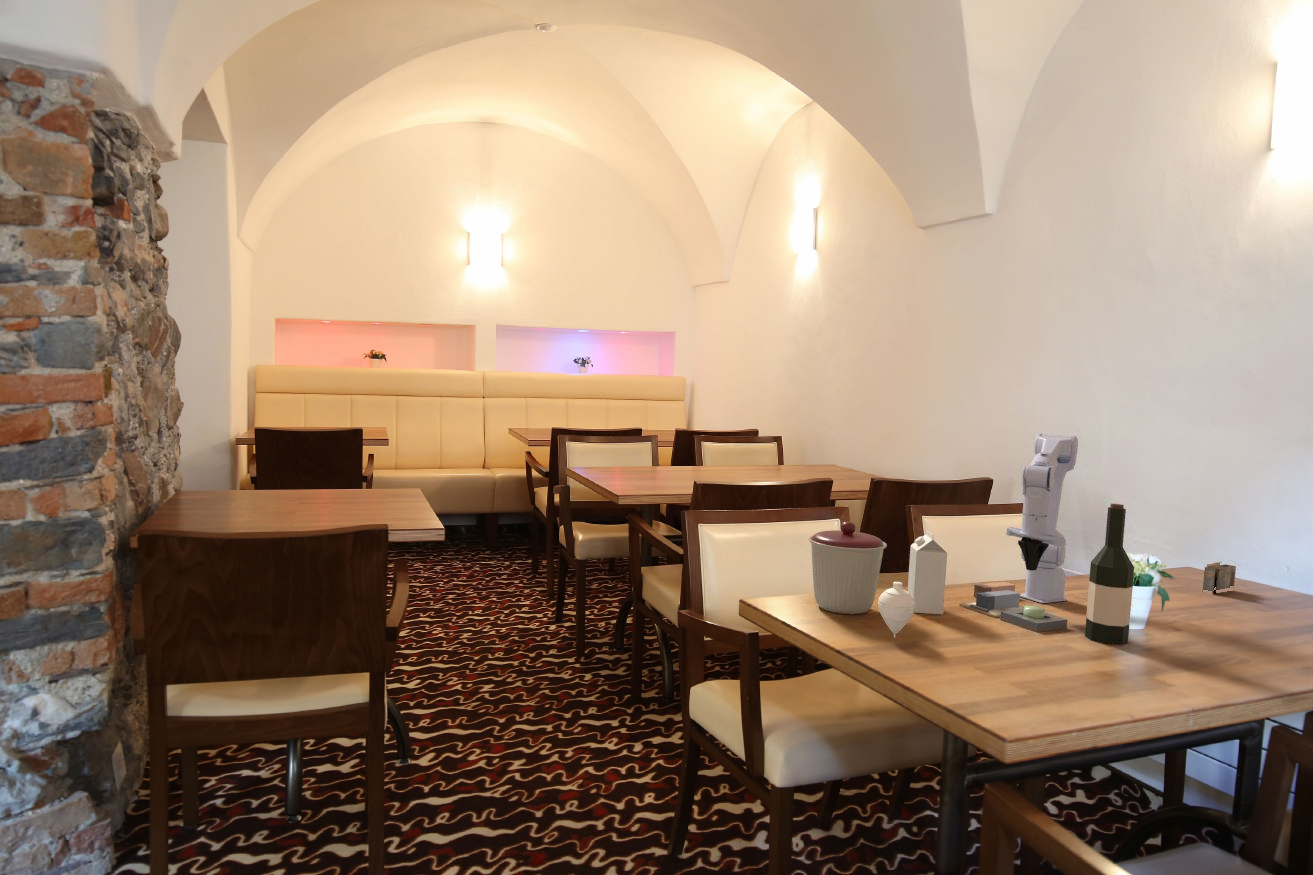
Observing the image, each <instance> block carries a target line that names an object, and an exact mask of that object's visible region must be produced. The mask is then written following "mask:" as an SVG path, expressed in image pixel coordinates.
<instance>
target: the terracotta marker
mask: <svg viewBox="0 0 1313 875" xmlns="http://www.w3.org/2000/svg"><path fill="white" fill-rule="evenodd" d="M1004 590H1010V591H1014V592H1016V584H1014V583H1011V582H1007V581H1001V582H1000V581H999V582H987V583H976V584H974V588H973V598H974V597H975V599H976V596H977V593H984V592H994V591H1004Z"/></svg>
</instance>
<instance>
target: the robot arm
mask: <svg viewBox="0 0 1313 875" xmlns="http://www.w3.org/2000/svg"><path fill="white" fill-rule="evenodd" d="M1078 448H1079V440H1078V437H1077V436H1076V435H1062V434H1061V435H1060V434H1048V433H1047V434H1045V433H1041V432H1040V433H1038V434H1036V437H1035V441H1034V457H1033V459H1032V461H1031V463H1030V464H1028V465H1027V466H1024V468H1023V471H1022V479H1021V481H1022V495H1023V504H1022V505H1023V506H1022V515H1021V516H1022V517H1021V519H1022V520H1021V528H1017V527H1014V526H1012V527H1006V533H1005V534H1006V536H1009V537H1011V536H1012V537H1015V538H1020V539H1021V540H1017V544H1018V546H1019V548H1020V551H1021V552H1020V553H1021V554H1020V556H1021V560H1022V561H1023V562H1024V564H1025V570H1026V576H1025V588H1024V592H1023V593H1022V592H1021V593H1020V598H1023V599H1026V600H1030V601H1033V602H1036V603H1037V602H1038V603H1040V604H1046V603H1057V602H1058V603H1059V602H1065V601H1067V600H1068V599H1067V598H1065V588H1066V587H1065V586H1066V572H1065V570H1064V569H1063V567H1062V566H1063V565H1064V562H1065V558H1066V545H1067V543H1066V538H1065V536H1064V535H1063V534H1062V533H1061V532H1060V531H1058V530H1057V526H1058V525H1057V523H1058V518H1059V511H1060V505H1061V499H1062V491H1063V486H1064V485H1063V484H1064V479H1065V477H1066V475H1067V473H1068V472H1070V471H1073V470H1074V469H1075V465H1076V464H1077V463H1076V462H1077V455H1078Z"/></svg>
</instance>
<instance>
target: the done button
mask: <svg viewBox="0 0 1313 875" xmlns="http://www.w3.org/2000/svg"><path fill="white" fill-rule="evenodd" d="M1023 607H1024V613H1023V616H1026V617H1029V618H1032V619H1035V620H1036V619H1044V613H1046V612H1045V611H1046V610H1045V608H1043V607H1040V606H1036V605H1024V606H1023Z"/></svg>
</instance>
